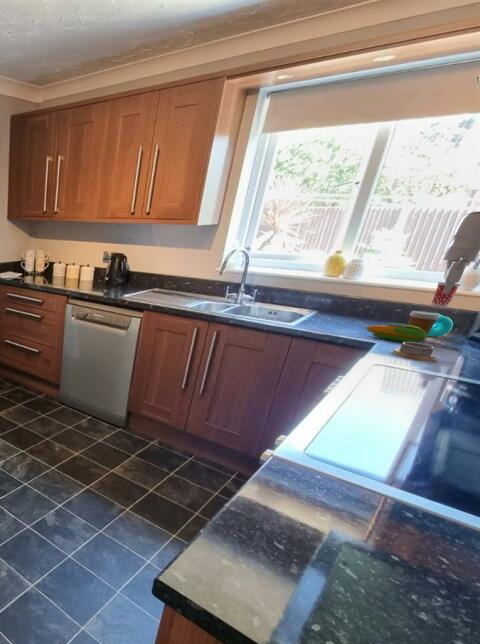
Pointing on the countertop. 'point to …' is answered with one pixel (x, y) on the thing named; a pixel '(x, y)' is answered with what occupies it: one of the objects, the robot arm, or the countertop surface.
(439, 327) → the turquoise rounded piece
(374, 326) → the corn
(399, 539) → the countertop surface
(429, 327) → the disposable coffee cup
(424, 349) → the stand
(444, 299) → the beverage cup
